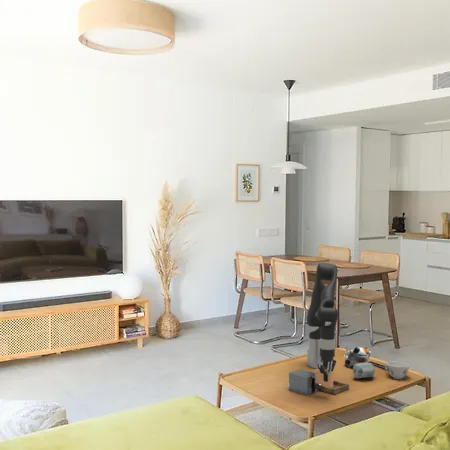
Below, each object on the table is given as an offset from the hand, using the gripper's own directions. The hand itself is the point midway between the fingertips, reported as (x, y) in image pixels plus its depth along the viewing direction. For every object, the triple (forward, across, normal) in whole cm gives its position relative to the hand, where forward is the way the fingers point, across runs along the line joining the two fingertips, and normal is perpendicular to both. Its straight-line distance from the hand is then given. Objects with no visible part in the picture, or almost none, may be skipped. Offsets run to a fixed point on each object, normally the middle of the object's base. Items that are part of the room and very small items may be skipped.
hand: (326, 380), depth 275 cm
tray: (+9, -12, -7) cm, 17 cm away
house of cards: (+10, -69, -32) cm, 77 cm away
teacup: (+9, -57, +7) cm, 58 cm away
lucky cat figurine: (+10, -57, -18) cm, 60 cm away
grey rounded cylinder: (+9, -39, -4) cm, 40 cm away
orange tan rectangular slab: (+2, 0, -2) cm, 3 cm away
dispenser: (+9, 0, -14) cm, 16 cm away
